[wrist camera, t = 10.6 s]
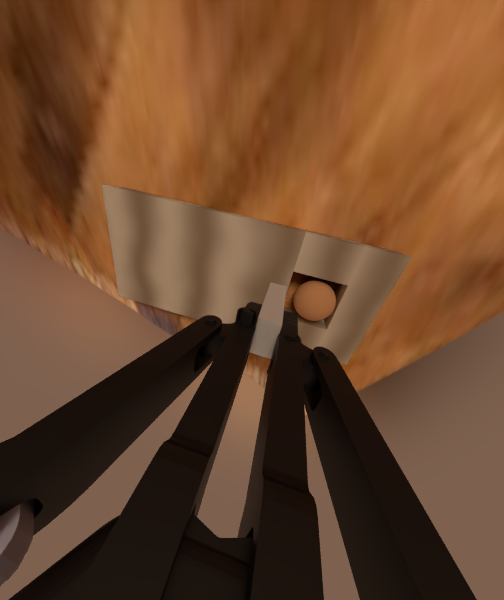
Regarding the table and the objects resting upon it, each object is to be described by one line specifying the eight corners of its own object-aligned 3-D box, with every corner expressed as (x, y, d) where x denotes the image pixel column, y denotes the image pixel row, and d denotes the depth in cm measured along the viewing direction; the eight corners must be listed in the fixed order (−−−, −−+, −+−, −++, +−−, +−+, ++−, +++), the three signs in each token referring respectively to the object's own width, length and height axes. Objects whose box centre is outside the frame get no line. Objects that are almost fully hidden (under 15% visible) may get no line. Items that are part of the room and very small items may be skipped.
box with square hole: (134, 288, 25) (118, 295, 23) (123, 187, 19) (101, 184, 17) (341, 349, 22) (346, 364, 20) (396, 251, 17) (411, 257, 14)
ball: (312, 304, 15) (340, 327, 16) (323, 267, 17) (348, 291, 18) (280, 309, 18) (306, 328, 20) (292, 278, 20) (315, 298, 21)
